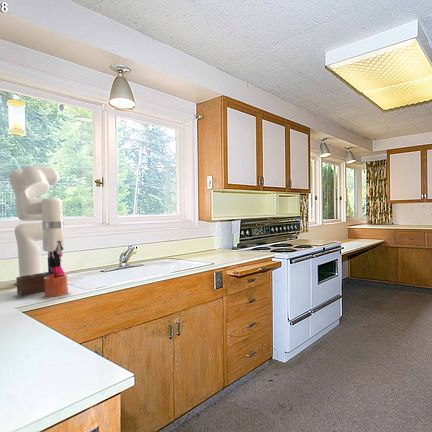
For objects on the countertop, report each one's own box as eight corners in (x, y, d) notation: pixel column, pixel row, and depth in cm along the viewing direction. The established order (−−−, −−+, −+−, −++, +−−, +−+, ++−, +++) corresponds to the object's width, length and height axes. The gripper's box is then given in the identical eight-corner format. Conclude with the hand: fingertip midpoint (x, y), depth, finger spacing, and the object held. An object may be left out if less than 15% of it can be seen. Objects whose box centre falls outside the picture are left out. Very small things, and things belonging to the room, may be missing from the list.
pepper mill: (68, 283, 166) (66, 245, 165) (57, 287, 158) (55, 247, 157) (56, 283, 166) (54, 245, 165) (44, 286, 159) (42, 247, 158)
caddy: (17, 296, 143) (16, 277, 143) (54, 288, 155) (53, 271, 155) (22, 298, 140) (20, 278, 140) (59, 290, 152) (58, 272, 152)
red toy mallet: (53, 288, 142) (51, 254, 142) (56, 288, 143) (54, 254, 143) (56, 289, 141) (54, 254, 140) (59, 289, 142) (57, 254, 141)
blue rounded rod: (48, 289, 152) (46, 256, 151) (50, 288, 153) (49, 256, 152) (50, 289, 150) (48, 257, 150) (53, 289, 151) (51, 256, 151)
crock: (41, 297, 141) (40, 277, 141) (63, 292, 148) (62, 273, 148) (49, 300, 137) (48, 279, 136) (71, 295, 144) (70, 275, 143)
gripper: (35, 226, 142) (38, 266, 143) (50, 226, 134) (53, 269, 134) (55, 224, 148) (57, 263, 149) (70, 225, 140) (72, 266, 141)
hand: (55, 266), depth 142 cm, fingers closed on red toy mallet, 1 cm apart
